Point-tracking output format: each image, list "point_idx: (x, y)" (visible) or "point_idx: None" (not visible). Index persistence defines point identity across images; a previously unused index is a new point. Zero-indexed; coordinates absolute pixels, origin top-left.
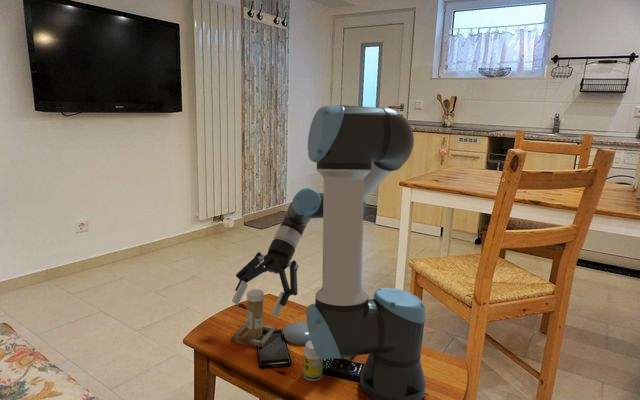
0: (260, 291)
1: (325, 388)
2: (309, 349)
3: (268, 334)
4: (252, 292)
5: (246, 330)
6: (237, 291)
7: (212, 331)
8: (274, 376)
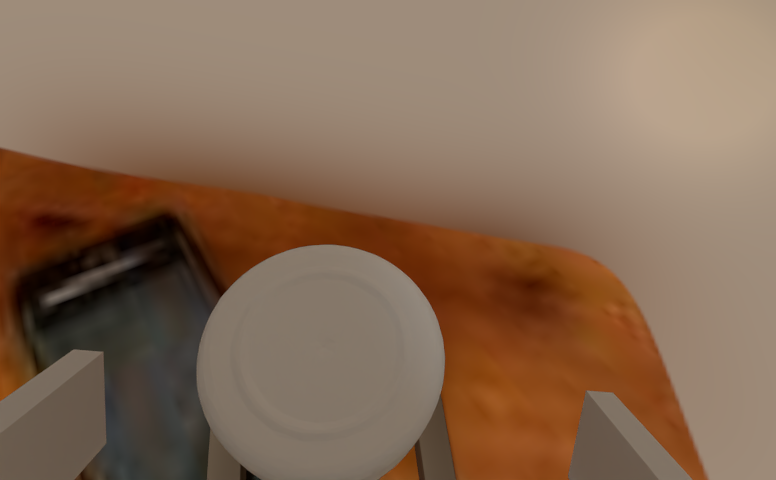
0: (261, 410)
1: None
2: None
3: (222, 465)
4: (359, 322)
5: None
6: (668, 469)
7: (588, 376)
8: (84, 190)
